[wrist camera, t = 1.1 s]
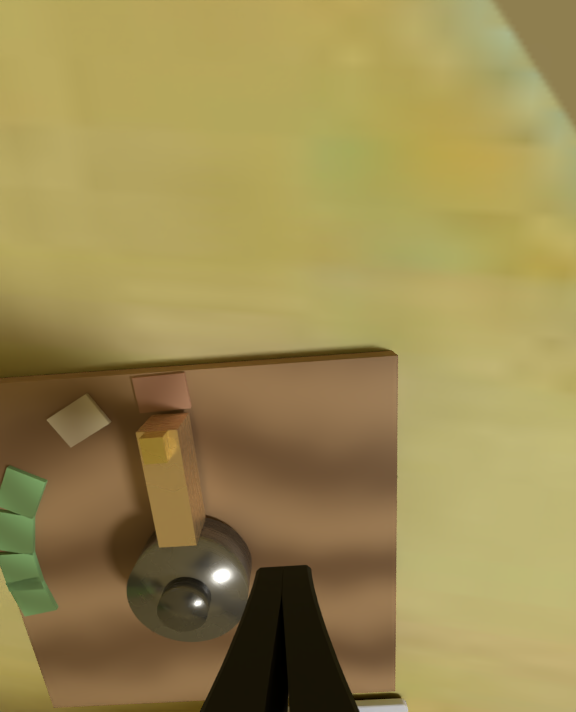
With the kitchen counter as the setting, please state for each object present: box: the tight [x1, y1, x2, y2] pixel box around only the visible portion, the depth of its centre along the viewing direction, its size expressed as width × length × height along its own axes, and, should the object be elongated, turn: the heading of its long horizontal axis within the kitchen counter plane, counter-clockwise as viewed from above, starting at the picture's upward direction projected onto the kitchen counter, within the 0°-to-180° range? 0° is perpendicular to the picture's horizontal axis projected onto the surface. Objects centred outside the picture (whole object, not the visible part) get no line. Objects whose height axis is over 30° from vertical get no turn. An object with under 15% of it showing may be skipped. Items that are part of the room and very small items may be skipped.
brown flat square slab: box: [0, 351, 398, 708], centre depth 19 cm, size 22×22×1 cm
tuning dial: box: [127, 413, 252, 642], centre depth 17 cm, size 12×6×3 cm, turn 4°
